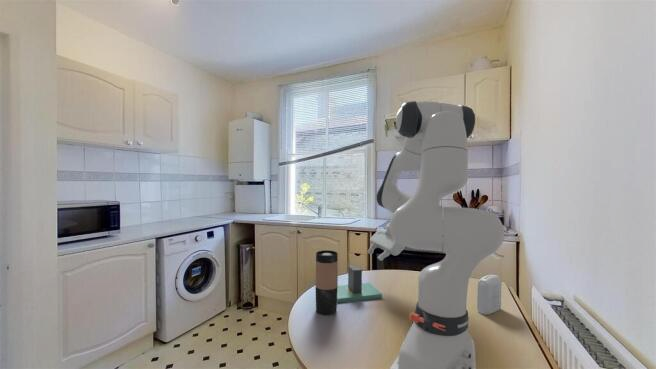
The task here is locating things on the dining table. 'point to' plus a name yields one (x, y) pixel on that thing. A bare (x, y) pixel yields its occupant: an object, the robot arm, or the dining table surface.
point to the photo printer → (489, 294)
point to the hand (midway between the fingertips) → (373, 256)
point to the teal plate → (367, 293)
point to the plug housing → (355, 279)
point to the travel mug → (326, 282)
